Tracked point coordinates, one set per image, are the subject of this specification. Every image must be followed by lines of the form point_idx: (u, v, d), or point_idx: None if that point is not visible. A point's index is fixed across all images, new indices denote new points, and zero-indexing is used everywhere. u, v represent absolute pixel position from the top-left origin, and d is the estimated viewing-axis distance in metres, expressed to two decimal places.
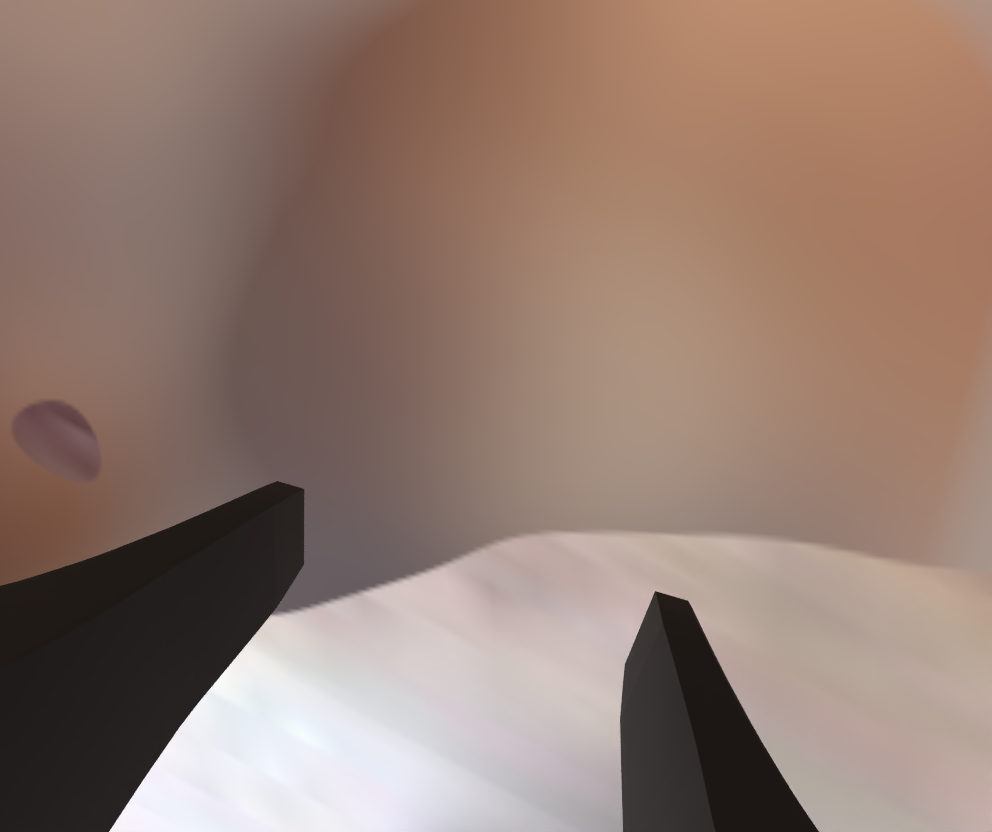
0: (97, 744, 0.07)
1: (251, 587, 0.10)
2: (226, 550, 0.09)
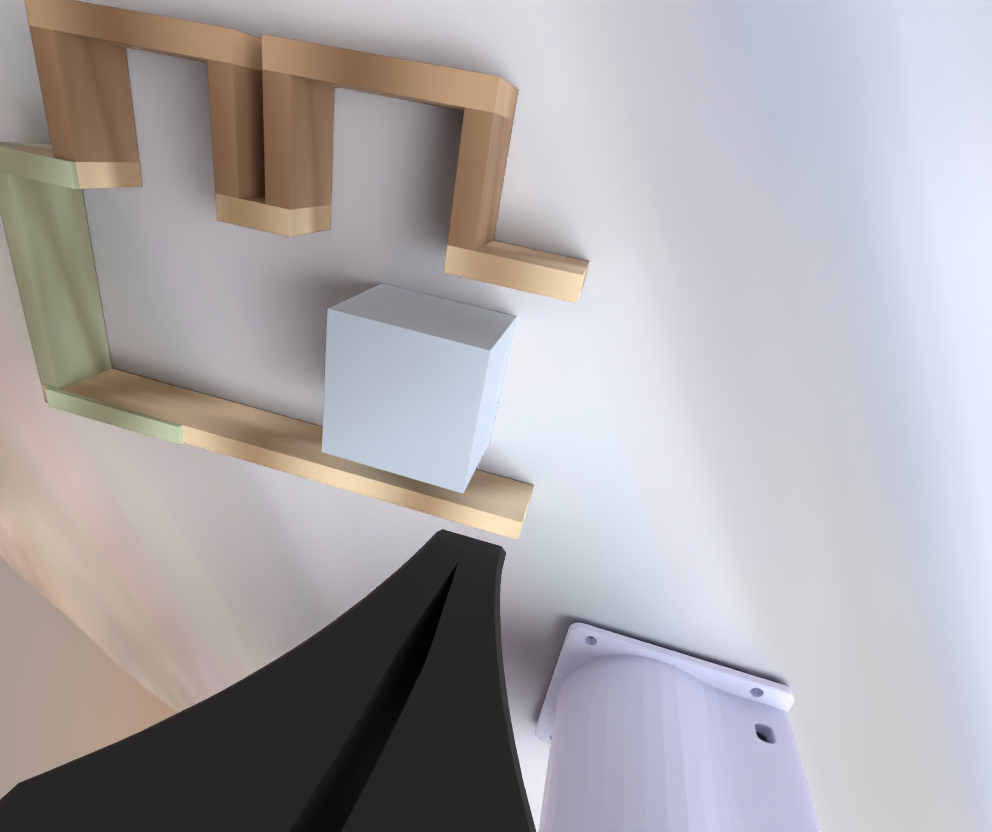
0: None
1: None
2: (429, 614, 0.08)
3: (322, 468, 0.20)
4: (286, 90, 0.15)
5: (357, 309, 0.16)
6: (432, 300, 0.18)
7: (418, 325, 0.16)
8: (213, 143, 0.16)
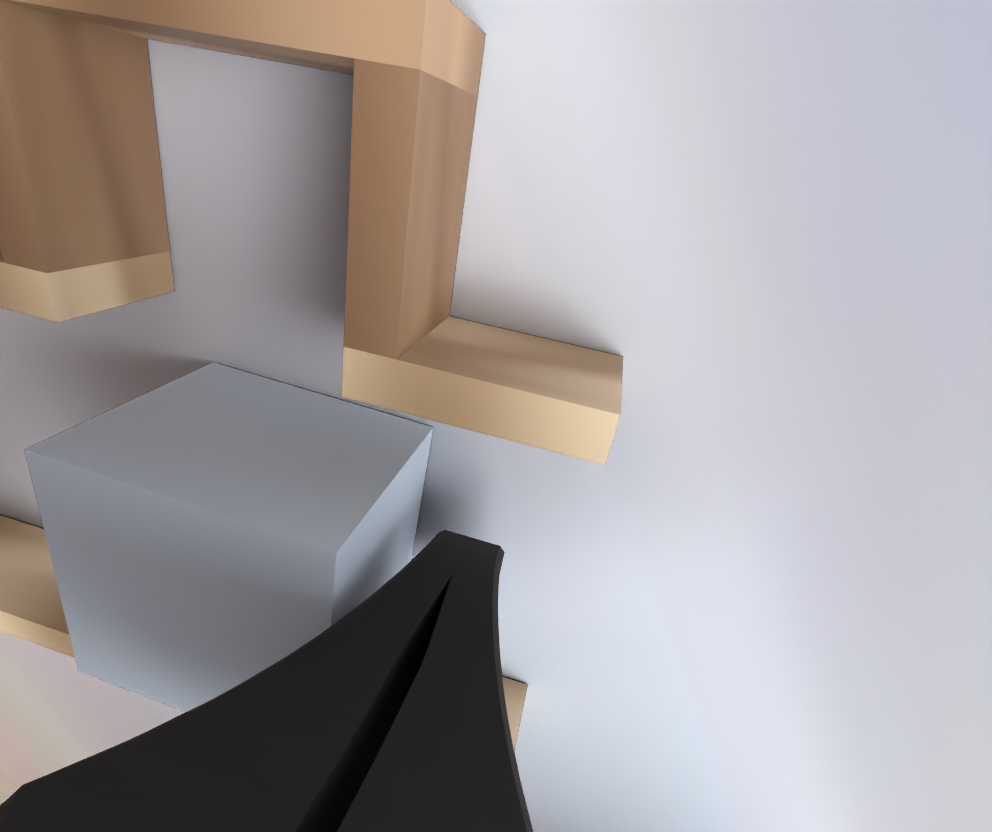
0: None
1: None
2: (432, 614, 0.08)
3: None
4: None
5: (97, 445, 0.08)
6: (284, 401, 0.11)
7: (209, 483, 0.08)
8: None
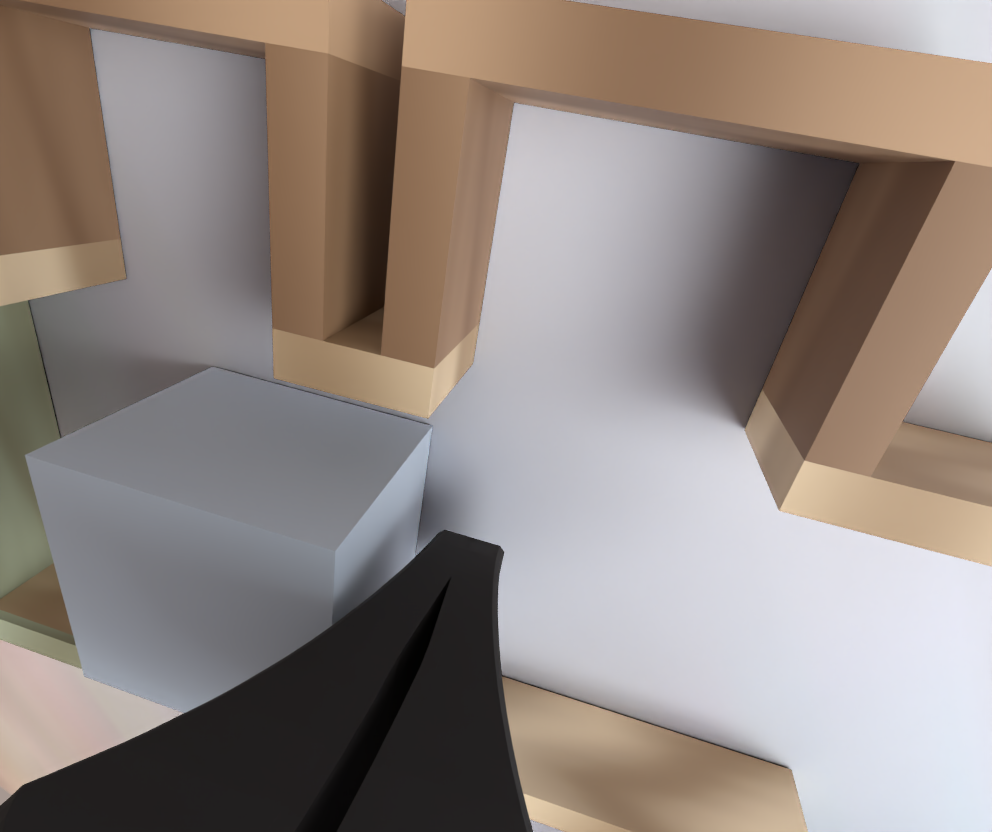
0: None
1: None
2: (432, 615, 0.08)
3: None
4: (458, 116, 0.06)
5: (97, 450, 0.08)
6: (283, 403, 0.11)
7: (208, 484, 0.08)
8: (272, 231, 0.07)
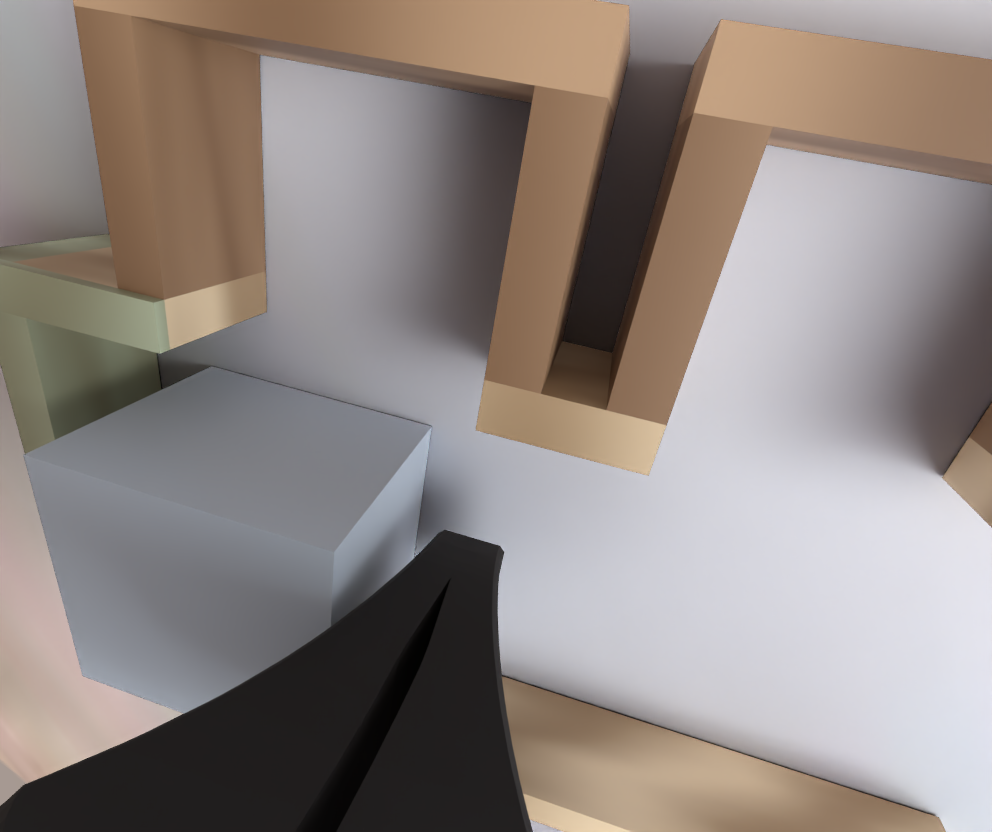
0: None
1: None
2: (432, 615, 0.08)
3: (592, 820, 0.11)
4: (752, 167, 0.06)
5: (96, 450, 0.08)
6: (282, 403, 0.11)
7: (207, 485, 0.08)
8: (505, 280, 0.07)
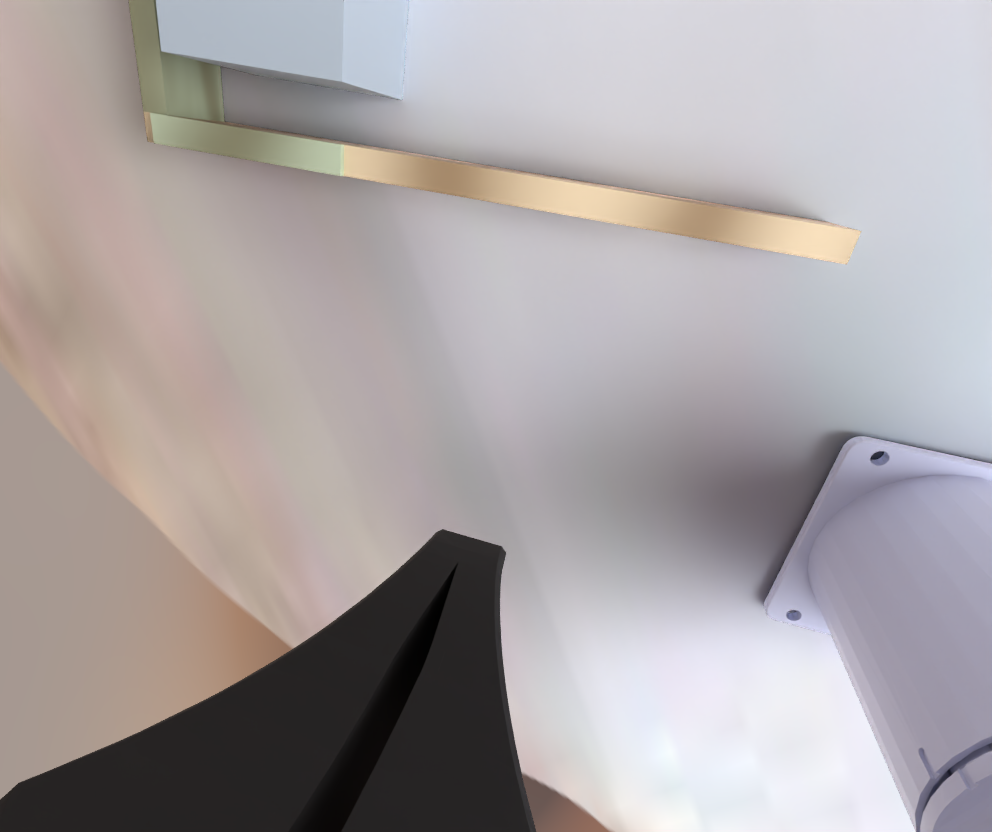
0: None
1: None
2: (429, 614, 0.08)
3: (549, 186, 0.14)
4: None
5: None
6: None
7: None
8: None
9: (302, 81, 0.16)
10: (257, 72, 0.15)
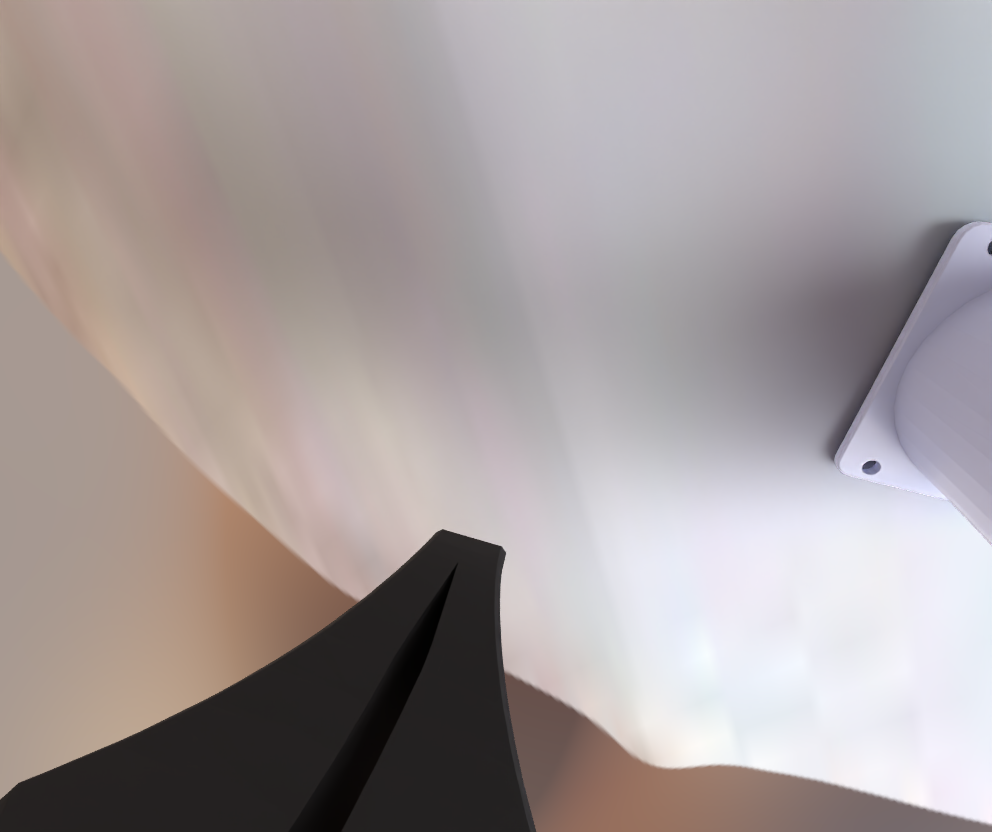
0: None
1: None
2: (429, 614, 0.08)
3: None
4: None
5: None
6: None
7: None
8: None
9: None
10: None
